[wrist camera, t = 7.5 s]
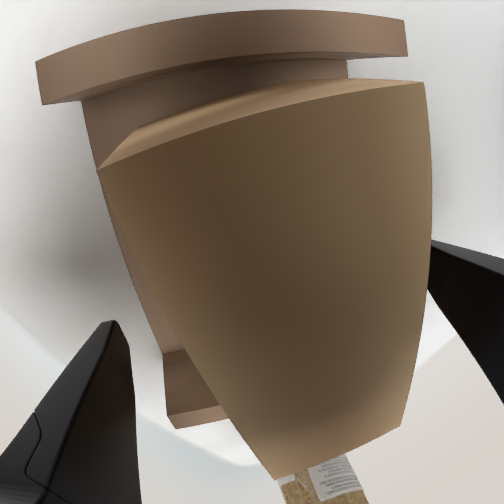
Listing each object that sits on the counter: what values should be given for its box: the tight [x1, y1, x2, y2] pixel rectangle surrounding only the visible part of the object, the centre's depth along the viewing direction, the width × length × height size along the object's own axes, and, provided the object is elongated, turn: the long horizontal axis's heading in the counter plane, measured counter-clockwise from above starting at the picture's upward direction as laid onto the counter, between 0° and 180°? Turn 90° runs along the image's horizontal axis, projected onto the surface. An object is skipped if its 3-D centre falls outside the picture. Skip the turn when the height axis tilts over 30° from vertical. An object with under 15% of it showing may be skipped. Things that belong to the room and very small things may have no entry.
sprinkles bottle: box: [277, 453, 369, 504], centre depth 15 cm, size 5×5×13 cm
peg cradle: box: [35, 10, 408, 429], centre depth 11 cm, size 10×14×4 cm
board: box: [96, 79, 432, 480], centre depth 8 cm, size 4×10×5 cm, turn 15°
